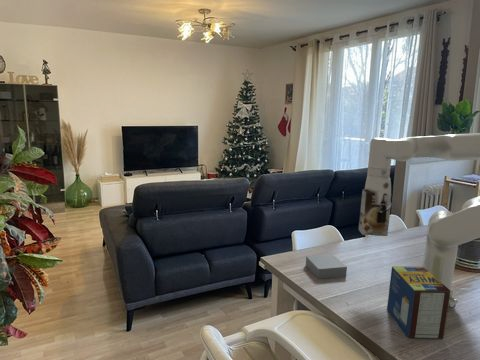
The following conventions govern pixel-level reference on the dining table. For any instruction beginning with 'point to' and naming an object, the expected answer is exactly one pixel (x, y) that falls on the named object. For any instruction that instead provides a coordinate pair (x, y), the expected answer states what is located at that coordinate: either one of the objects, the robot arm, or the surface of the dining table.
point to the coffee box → (372, 216)
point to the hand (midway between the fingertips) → (374, 218)
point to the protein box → (418, 302)
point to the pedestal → (326, 266)
